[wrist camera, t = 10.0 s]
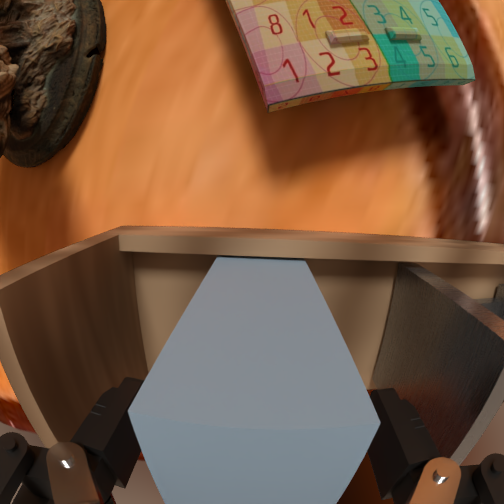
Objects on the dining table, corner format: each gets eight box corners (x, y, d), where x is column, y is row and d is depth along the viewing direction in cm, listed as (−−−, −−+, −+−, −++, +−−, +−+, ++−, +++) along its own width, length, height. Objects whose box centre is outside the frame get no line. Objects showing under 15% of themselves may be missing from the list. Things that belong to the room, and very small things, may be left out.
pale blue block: (301, 253, 14) (380, 422, 4) (287, 381, 16) (301, 549, 6) (221, 250, 14) (128, 411, 4) (222, 378, 16) (188, 544, 6)
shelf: (511, 245, 15) (612, 289, 4) (478, 360, 17) (545, 435, 7) (122, 225, 16) (-23, 286, 5) (140, 369, 18) (72, 484, 8)
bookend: (517, 265, 14) (604, 311, 5) (489, 358, 15) (550, 423, 7) (398, 262, 14) (512, 347, 5) (372, 378, 16) (422, 491, 7)
